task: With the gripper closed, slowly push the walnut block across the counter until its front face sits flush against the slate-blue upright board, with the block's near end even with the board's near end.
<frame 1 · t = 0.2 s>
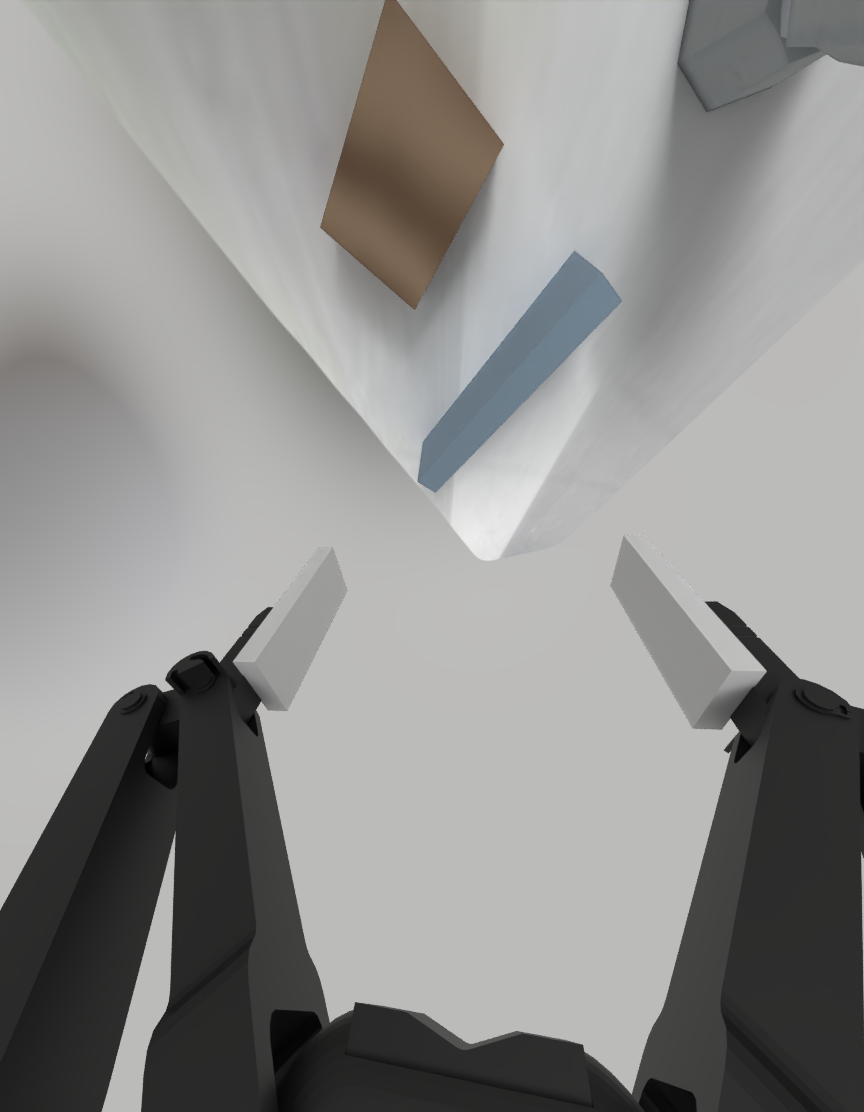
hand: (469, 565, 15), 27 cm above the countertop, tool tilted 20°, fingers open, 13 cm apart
walnut block: (412, 185, 23), on the countertop
slate board: (490, 375, 33), on the countertop
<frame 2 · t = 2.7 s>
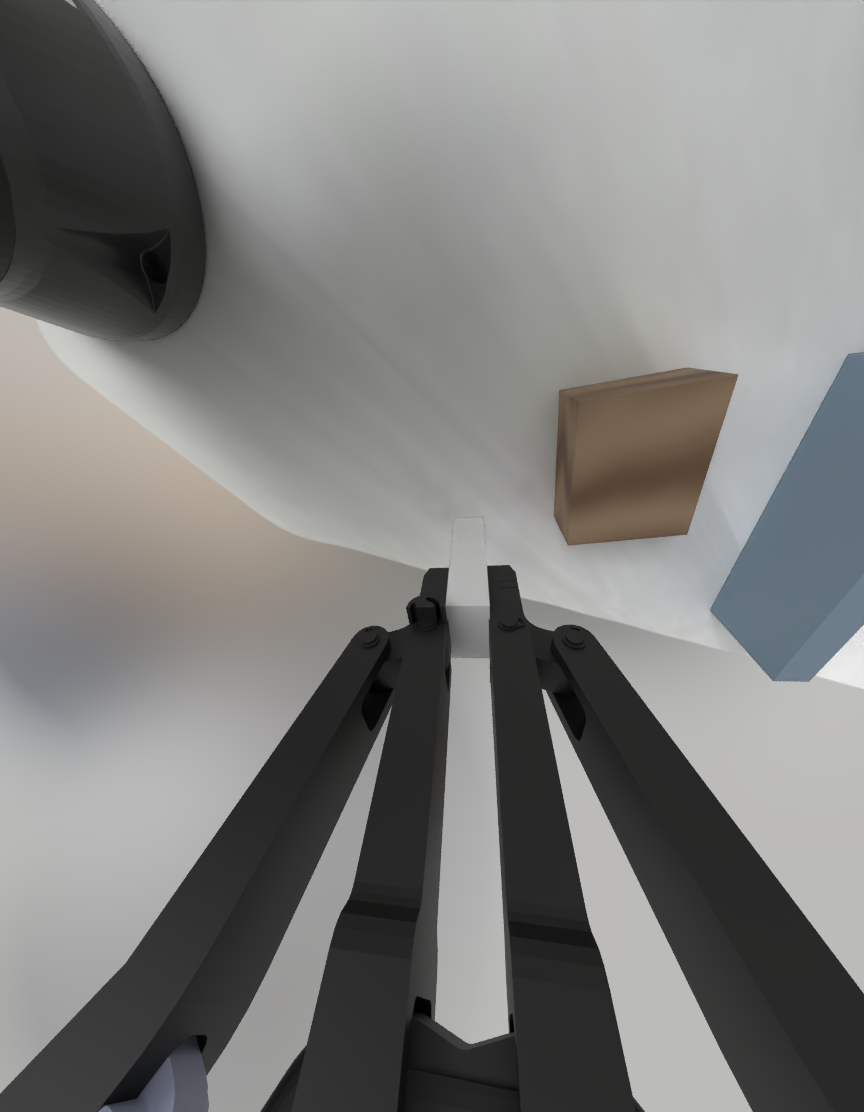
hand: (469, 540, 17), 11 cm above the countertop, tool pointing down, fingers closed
walnut block: (609, 451, 24), on the countertop
slate board: (780, 512, 25), on the countertop
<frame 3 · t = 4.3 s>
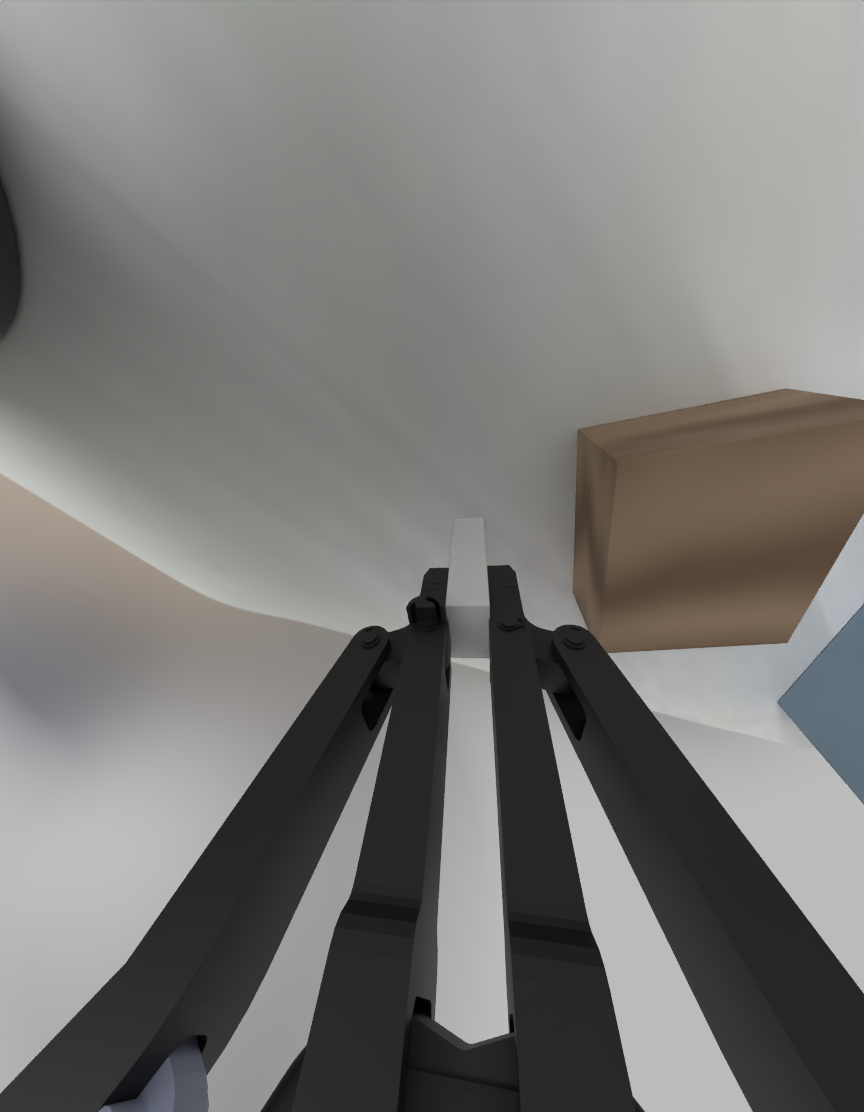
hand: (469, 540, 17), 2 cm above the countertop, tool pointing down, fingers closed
walnut block: (654, 510, 16), on the countertop
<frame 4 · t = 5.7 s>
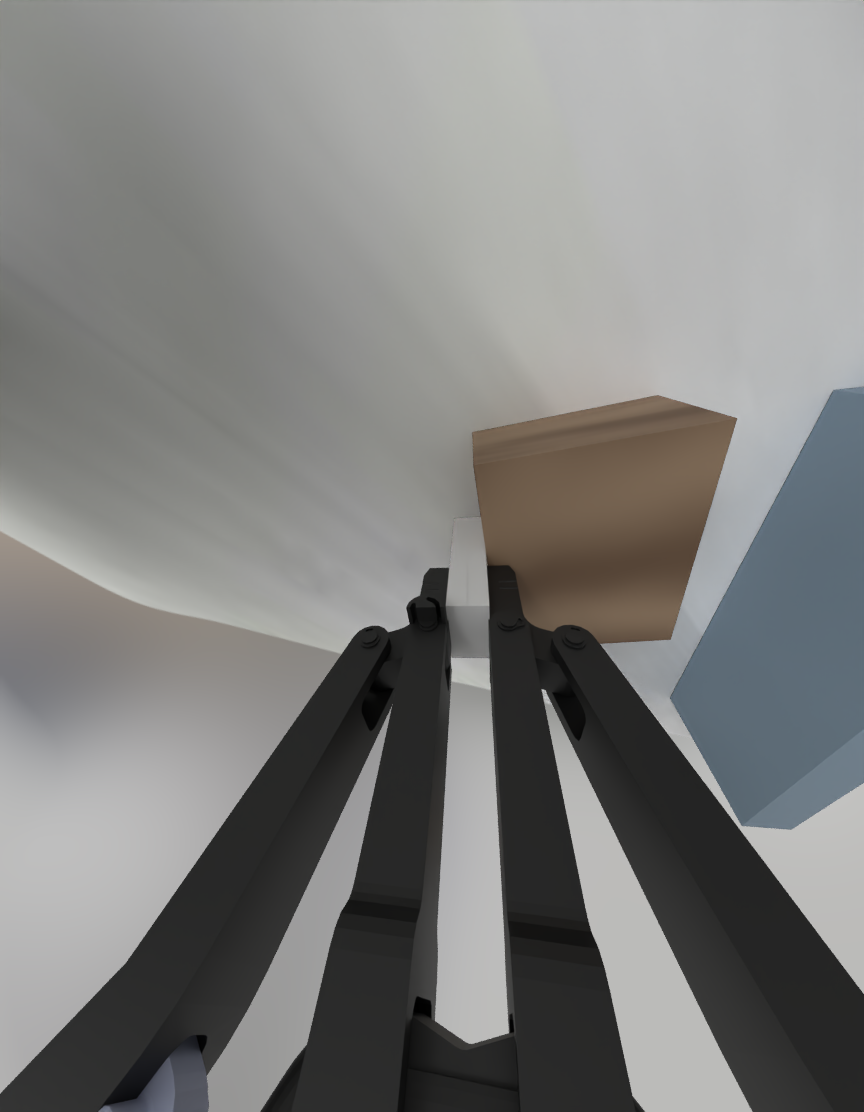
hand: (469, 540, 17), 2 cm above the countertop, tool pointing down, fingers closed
walnut block: (558, 511, 17), on the countertop, touching gripper
slate board: (748, 593, 19), on the countertop
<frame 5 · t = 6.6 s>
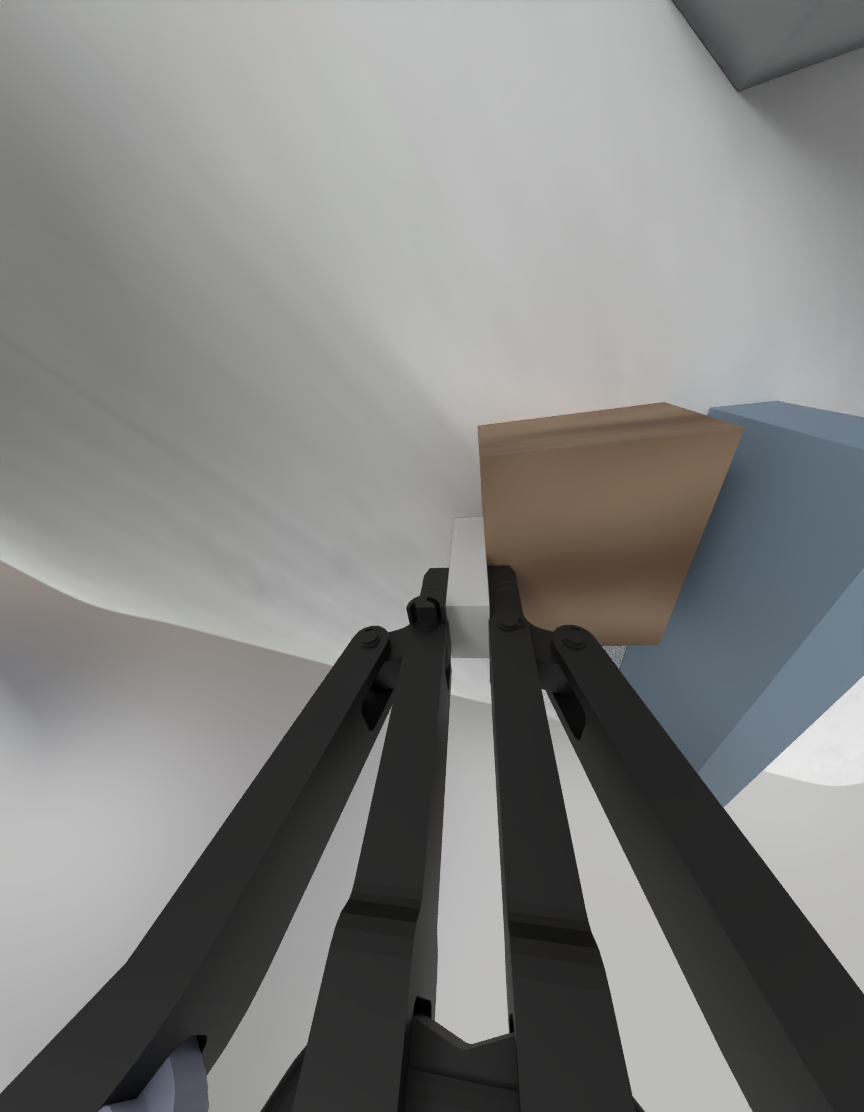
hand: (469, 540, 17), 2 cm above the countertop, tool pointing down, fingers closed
walnut block: (556, 512, 17), on the countertop, touching gripper
slate board: (665, 598, 19), on the countertop
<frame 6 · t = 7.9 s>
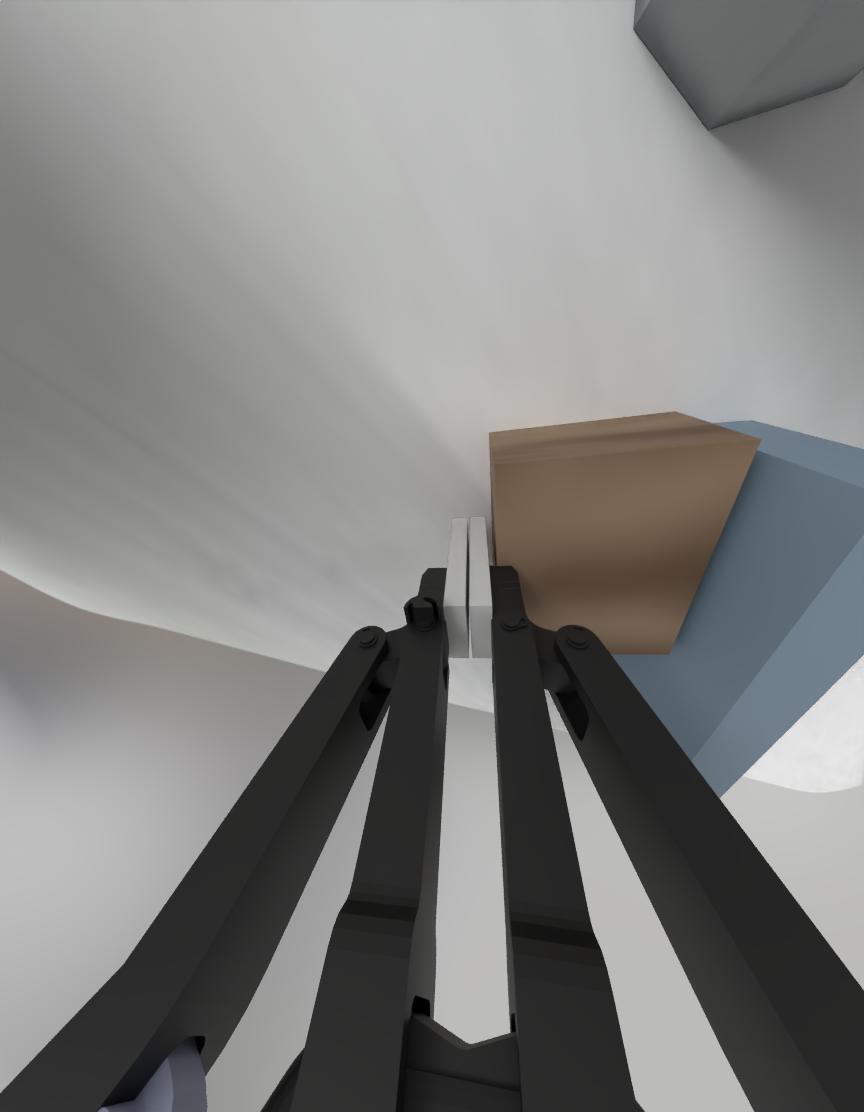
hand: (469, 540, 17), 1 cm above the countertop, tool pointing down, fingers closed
walnut block: (566, 519, 17), on the countertop, touching gripper
slate board: (649, 608, 20), on the countertop
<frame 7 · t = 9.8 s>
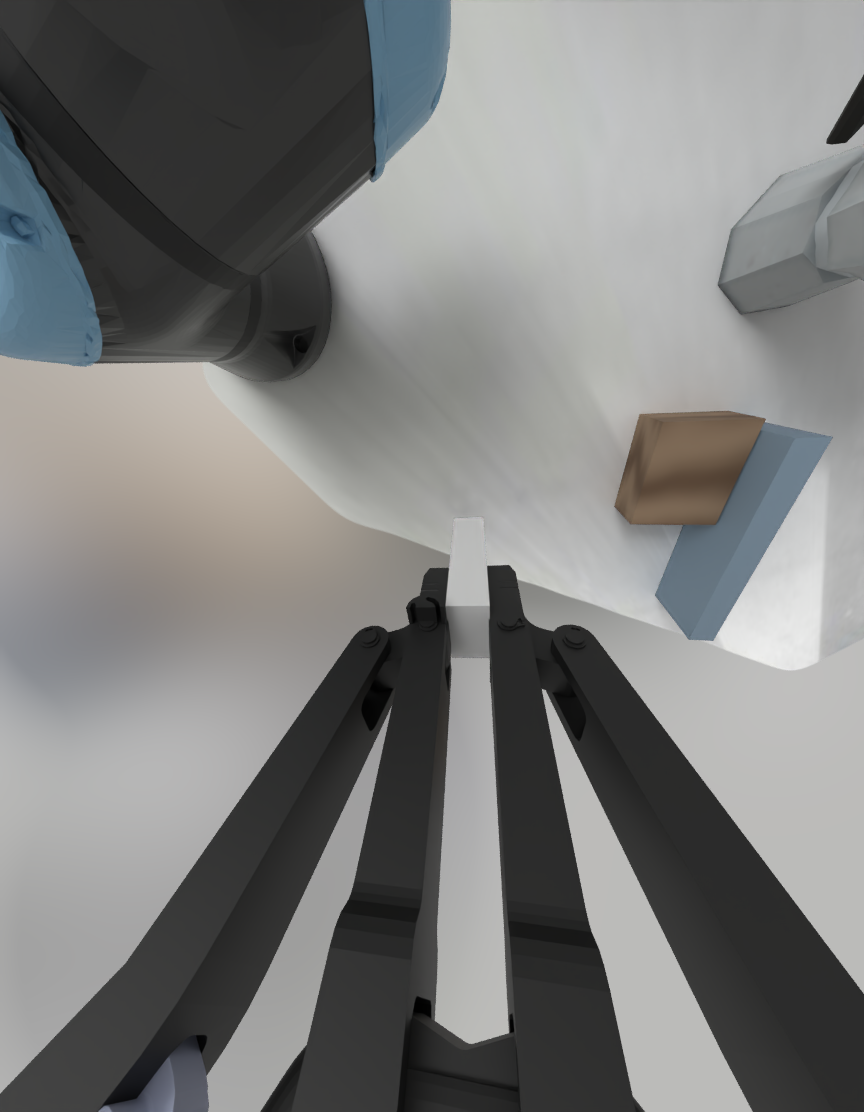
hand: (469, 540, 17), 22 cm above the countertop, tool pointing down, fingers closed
walnut block: (664, 462, 34), on the countertop
slate board: (696, 522, 36), on the countertop
coffee maker: (774, 234, 24), on the countertop
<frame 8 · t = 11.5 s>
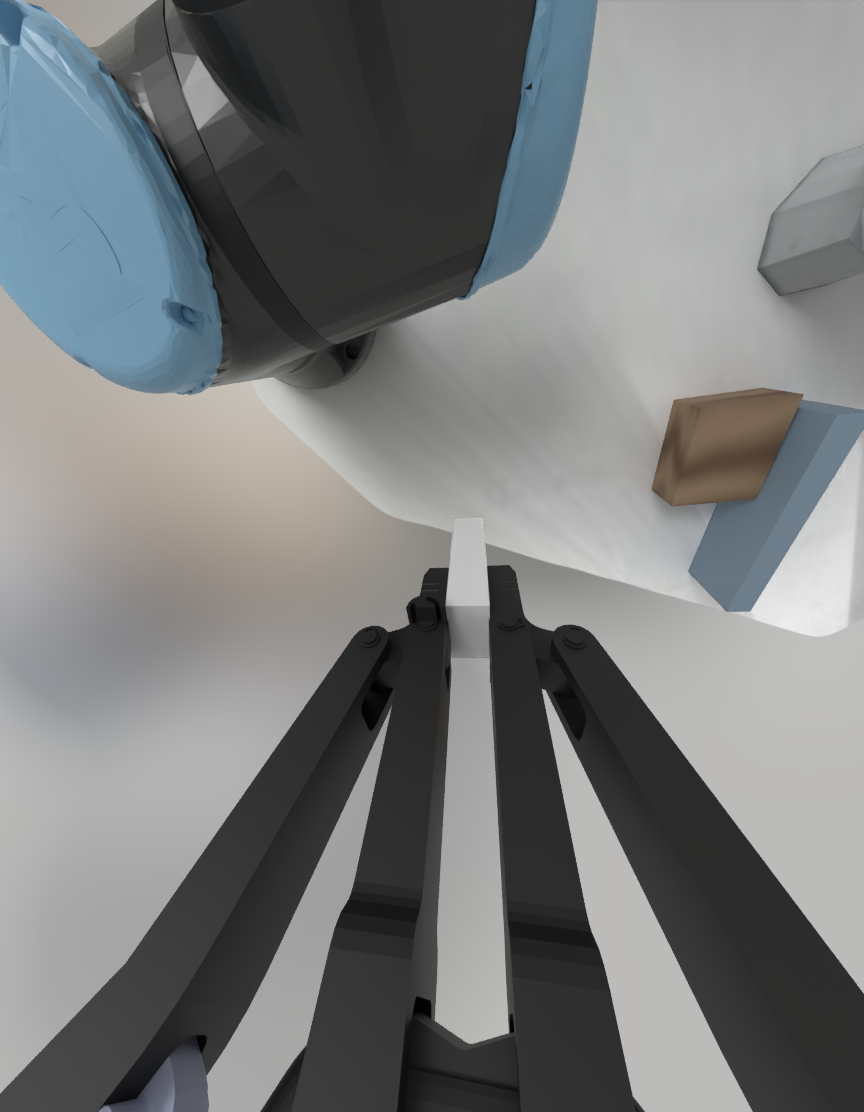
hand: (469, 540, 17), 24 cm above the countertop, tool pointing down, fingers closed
walnut block: (700, 443, 35), on the countertop
slate board: (730, 499, 38), on the countertop
coffee maker: (814, 216, 25), on the countertop
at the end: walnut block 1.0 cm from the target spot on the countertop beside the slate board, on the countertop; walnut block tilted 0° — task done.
